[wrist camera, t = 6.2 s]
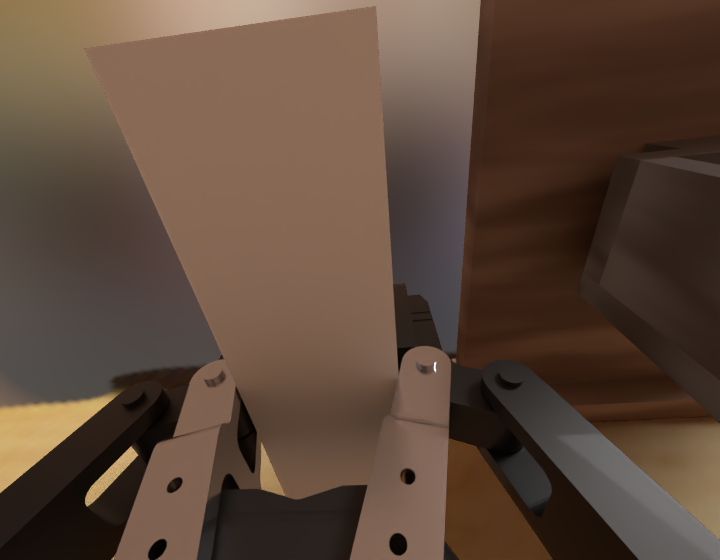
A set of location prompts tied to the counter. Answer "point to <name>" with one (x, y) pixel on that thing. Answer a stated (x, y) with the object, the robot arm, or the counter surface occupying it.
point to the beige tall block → (277, 220)
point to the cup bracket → (597, 203)
